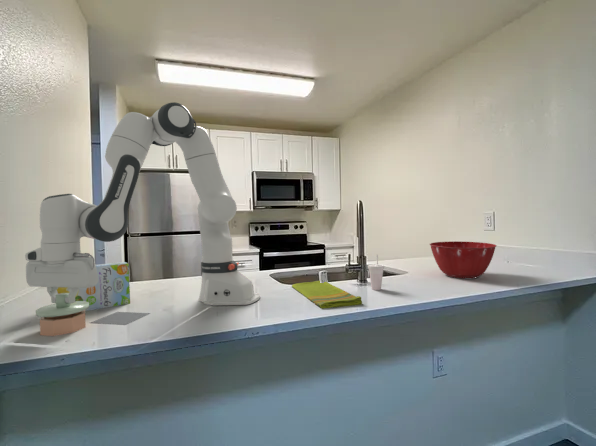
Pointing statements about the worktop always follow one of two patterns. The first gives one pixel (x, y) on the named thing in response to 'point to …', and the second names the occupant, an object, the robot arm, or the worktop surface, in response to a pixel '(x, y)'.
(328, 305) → the dish towel
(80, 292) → the snack box
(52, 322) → the bowl
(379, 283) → the smoothie
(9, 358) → the worktop surface
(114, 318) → the mat
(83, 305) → the lid
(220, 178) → the robot arm
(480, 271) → the mixing bowl
